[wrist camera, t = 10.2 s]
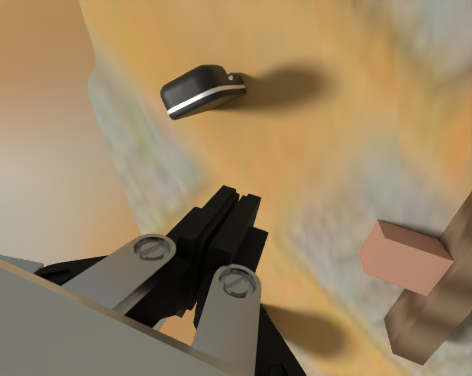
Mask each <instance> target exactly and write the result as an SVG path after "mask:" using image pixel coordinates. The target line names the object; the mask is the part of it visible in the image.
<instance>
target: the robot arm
mask: <svg viewBox="0 0 472 376" xmlns="http://www.w3.org/2000/svg"><path fill="white" fill-rule="evenodd" d="M239 195H240V194H238V193H236V189H234V188H231V187H228V186H225V185H223V186H222V187H221V188H220V189H219V191H218V192H217V193H216V194H215V195H214V196H213V197H212V198H211V199H210V200H209V201H208V202H207V204H206V205H205V206H204V207H203V208H202V209H201V208H199V207H194V208H193V209H192V210H191V211H190V212H189V213H188V214H187V215H186V216H185V217H184V218H183V219H182V220H181V221H180V222H179V223H178V224H177V225H176V226H175V227H174V228H173V229H172V230H171V231H170V232H169V233H168V234H167V235H166V236H163V235H160V234H146V235H142V236H139V237H137V238H135V239H134V240H132V241H131V242H129V243H127V244H126V245H124V246H123V247H121V248H120V249H118V250H116V251H115V252H113V253H112V254H110V255H107V256H101V257H94V258H88V259H81V260H75V261H68V262H62V263H56V264H52V265H49V266H46V267H44V264H43V263H38V262H32V261H28V260H23V259H17V258H12V257H7V256H2V255H0V376H306V374H305V372H304V370H303V369H302V367H301V366H300V364H299V363H298V361H297V360H296V358H295V356H294V355H293V353H292V352H291V350H290V349H289V347H288V346H287V344H286V343H285V341H284V339H283V338H282V336H281V335H280V333H279V332H278V330H277V329H276V327H275V325H274V324H273V322H272V321H271V319H270V318H269V316H268V315H267V313H266V312H265V310H264V308H263V307H262V305H261V304H260V299H261V282H260V280H259V278H258V276H257V275H256V274H255V272H256V269H257V266H258V263H259V260H260V257H261V254H262V251H263V248H264V245H265V242H266V239H267V236H268V232H266V231H263V230H261V229H258V228H255V227H253V225H254V222H255V218H256V215H257V211H258V208H259V205H260V201H261V197H258V196H255V195H252V194H248V195H247V196H244V195H243V196H242V197H241V199H240V200H239ZM238 200H239V201H238ZM196 302H197V304H196ZM195 304H196V309H195V317H194V322H193V323H194V326H195V328H196V334H195V337H194V340H193V343H192V346H189V345H187V344H185V343H182V342H180V341H178V340H176V339H174V338H172V337H169V336H167V335H165V334H163V333H161V332H159V330H160V329H161V328H162V327H163V325H164V323H165V322H166V318H167V317H170V316H174V315H177V316H179V317H181V318H182V316H183V315H184V313H185V311H186V310H187V309H188V310H192V309H193V307H194V305H195Z"/></svg>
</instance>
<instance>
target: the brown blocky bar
mask: <svg viewBox="0 0 472 376" xmlns="http://www.w3.org/2000/svg"><path fill="white" fill-rule="evenodd" d="M439 241H440V243H441V244H442V245H443V247H444V248H445V250H446V251H447V252H448V254H449V255H450V256H451V258H452V259H453V261H454V262H453V264H452V265H451V266H450V267H449V269H448V270H447V271H446V273H445V274H444V275H443V277H442V278H441V279H440V280H439V282H438V283H437V284H436V286H435V287H434V288H433V290H432V291H431V292H430V293H429V295H428V296H425V295H422V294H419V293H417V292H414V291H411V290H408V289H406V288H405V289H404V291H403V292H402V293H401V295H400V296H399V298H398V299H397V301H396V302H395V304H394V305H393V307H392V308H391V309H390V311H389V312H388V314H387V315H386V317H385V318H384V321H385V325H386V329H387V333H388V337H389V341H390V345H391V349H392V352H393V354H395V355H398V356H400V357H403V358H405V359H408V360H410V361H413V362H415V363H418V364H420V365H424V363H425V362H426V361H427V360H428V359H429V358H430V357H431V356H432V355H433V353H434V352H435V351H436V350H437V349H438V348H439V347H440V346H441V344H442V343H443V342H444V341H445V340H446V339H447V338H448V337H449V336H450V334H451V333H452V332H453V331H454V330H455V329H456V328H457V327H458V325H459V324H460V323H461V322H462V321H463V320H464V319H465V318H466V316H467V315H468V314H469V313H470V312H471V311H472V192H471V193H470V195H469V196H468V198H467V199H466V201H465V202H464V204H463V205H462V206H461V208H460V209H459V211H458V212H457V214H456V215H455V217H454V218H453V220H452V221H451V222H450V224H449V225H448V227H447V228H446V230H445V231H444V233H443V234H442V235H441V237H440V238H439Z"/></svg>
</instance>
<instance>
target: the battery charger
mask: <svg viewBox="0 0 472 376" xmlns="http://www.w3.org/2000/svg"><path fill="white" fill-rule="evenodd" d="M245 88H246V87H245V85H244V84H243V81H242V79H241V78H240V76H239V75H238V74H236V73H230V74H228V75H227V73H226V71H225V70H224V68H223V67H221V66H218V65H201V66H199V67H196V68H195V69H193V70H191V71H189V72H187V73H185V74H184V75H182V76H180V77H178V78H176V79H175V80H173V81H171V82H169V83H167V84H166V85H164V86H163V87H162V89H161V92H160V94H161V98H162V101H163V103H164V105H165V107H166V109H167V113H168V115H169V116H170V118H171V119H172V120H177V119H181V118H184V117H188V116H191V115H195V114H198V113H202V112H205V111H209V110H211V109H213V108H215V107H218V106H220V105H222V104H224V103H226V102H228V101H231V100H233V99H235V98H237V97H239V96H241V95H244V94H245V93H246V89H245Z"/></svg>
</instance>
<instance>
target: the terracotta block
mask: <svg viewBox="0 0 472 376" xmlns="http://www.w3.org/2000/svg"><path fill="white" fill-rule="evenodd" d="M360 257H361V262H362V266H363V271H364V273H365V274H367V275H370V276H373V277H376V278H378V279H381V280H384V281H386V282H389V283H392V284H395V285H397V286H400V287H403V288H406V289H408V290H411V291H414V292H417V293H419V294H422V295H425V296H428V295H429V293H430V292H431V291H432V290H433V288H434V287H435V286H436V284H437V283H438V282H439V280H440V279H441V278H442V277H443V275H444V274H445V273H446V271H447V270H448V269H449V267H450V266H451V265H452V264H453V262H454V261H453V259H452V258H451V256H450V255H449V254H448V252H447V251H446V250H445V248H444V247H443V245H442V244H441V243H440V241H439V240H438V239H435V238H432V237H429V236H426V235H423V234H420V233H417V232H414V231H411V230H408V229H405V228H402V227H399V226H396V225H393V224H390V223H387V222H384V221H380V220H377V221H376V223H375V225H374V227H373V228H372V230H371V232H370V234H369V236H368V237H367V239H366V241H365V243H364V245H363V247H362V248H361V250H360Z"/></svg>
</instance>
